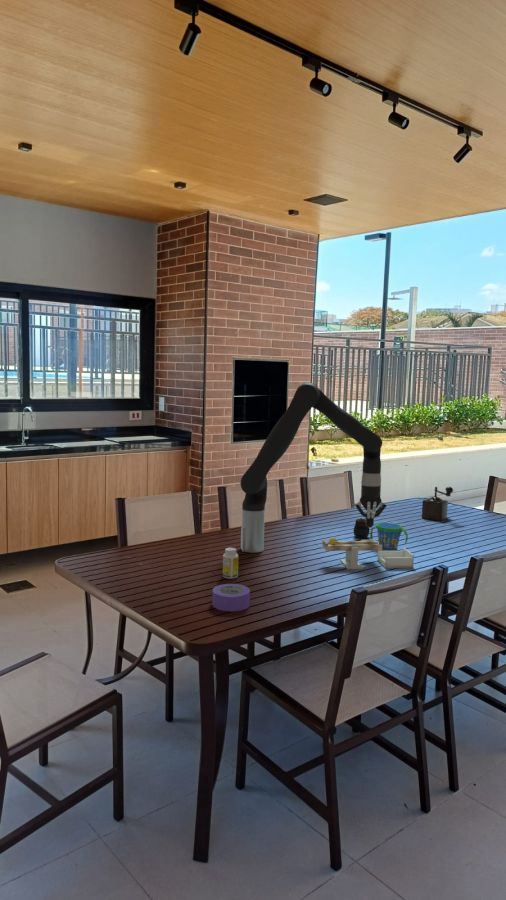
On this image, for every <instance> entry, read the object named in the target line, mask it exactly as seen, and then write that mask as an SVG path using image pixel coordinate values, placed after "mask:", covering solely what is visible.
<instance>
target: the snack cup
mask: <svg viewBox="0 0 506 900" xmlns="http://www.w3.org/2000/svg"><path fill="white" fill-rule="evenodd" d="M374 528H376V529H377V537H378V539H377V541H378V544H379V545H382V550H381V551H398V546H399V541H400V537H401V534H402V531H403V533H404V534H405V537H406V538H405V542H404V544H407V542H408V539H409V538H408V536H409V535H408V532H407V530H406V529H405V528H403V526H402V525H400V524H397V523H392V522H381V523H377V524H376V525H373V526H372V528H370V529H371V530H370V531H369V536H370V540H373V537H374V536H373V530H374Z"/></svg>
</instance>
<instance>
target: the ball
mask: <svg viewBox="0 0 506 900" xmlns="http://www.w3.org/2000/svg"><path fill="white" fill-rule="evenodd" d="M328 542H329V543H330V545H336V544H337V542H338V538H336V537H330V538H329V540H328Z"/></svg>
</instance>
